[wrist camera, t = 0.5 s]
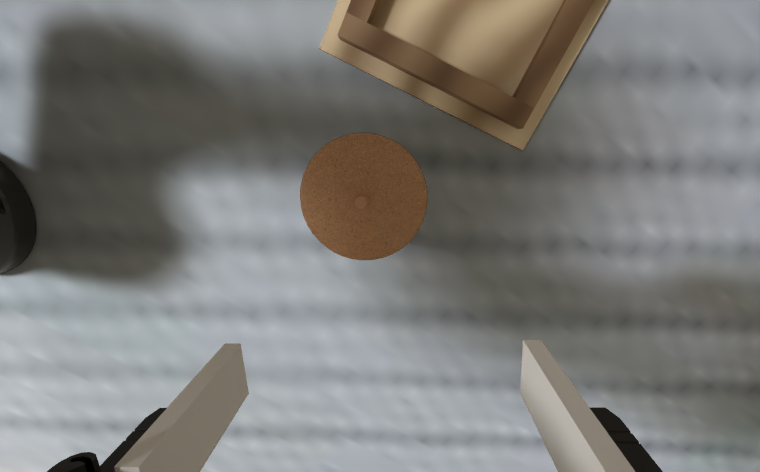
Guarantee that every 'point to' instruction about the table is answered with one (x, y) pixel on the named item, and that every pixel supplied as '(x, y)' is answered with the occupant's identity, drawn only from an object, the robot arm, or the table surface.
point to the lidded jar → (363, 196)
